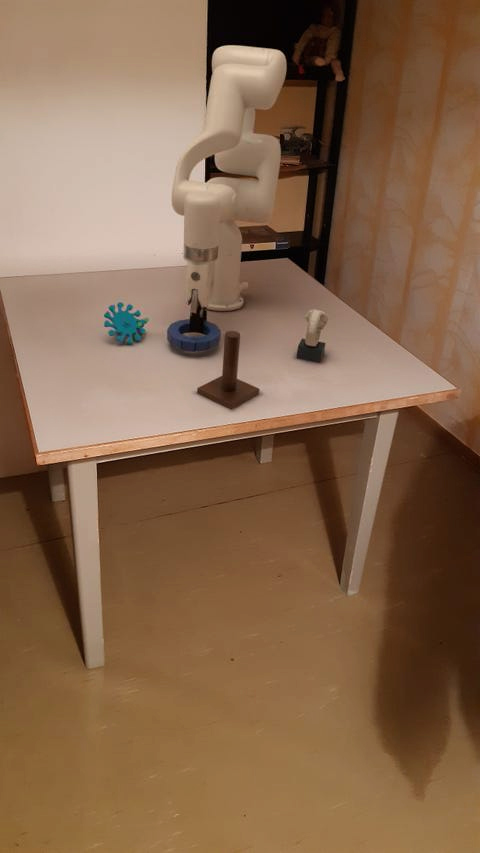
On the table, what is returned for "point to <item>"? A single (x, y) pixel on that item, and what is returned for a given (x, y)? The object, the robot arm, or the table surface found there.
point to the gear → (125, 323)
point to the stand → (229, 378)
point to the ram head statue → (313, 337)
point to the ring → (192, 343)
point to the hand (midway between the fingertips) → (198, 327)
